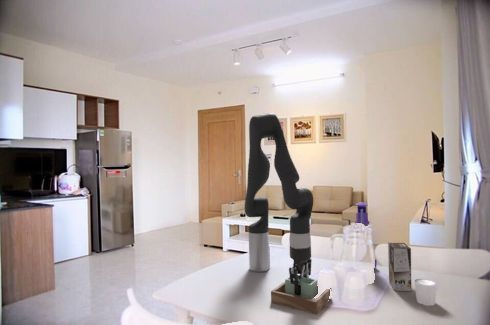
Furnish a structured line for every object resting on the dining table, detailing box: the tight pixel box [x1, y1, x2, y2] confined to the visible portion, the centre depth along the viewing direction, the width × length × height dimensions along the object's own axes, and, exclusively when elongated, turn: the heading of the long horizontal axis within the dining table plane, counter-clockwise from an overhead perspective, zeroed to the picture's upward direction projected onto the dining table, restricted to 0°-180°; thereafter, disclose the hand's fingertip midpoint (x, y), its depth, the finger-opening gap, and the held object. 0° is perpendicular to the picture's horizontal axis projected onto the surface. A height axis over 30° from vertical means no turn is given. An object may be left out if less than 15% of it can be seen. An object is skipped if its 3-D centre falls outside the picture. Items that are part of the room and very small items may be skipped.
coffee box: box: [387, 242, 412, 292], centre depth 129 cm, size 9×6×16 cm
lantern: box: [354, 201, 378, 269], centre depth 151 cm, size 13×12×30 cm
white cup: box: [414, 278, 438, 307], centre depth 115 cm, size 7×7×7 cm
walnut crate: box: [270, 281, 332, 315], centre depth 119 cm, size 14×17×4 cm
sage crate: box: [284, 275, 318, 299], centre depth 119 cm, size 5×10×5 cm, turn 55°
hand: (301, 291), depth 119 cm, fingers closed on sage crate, 5 cm apart
